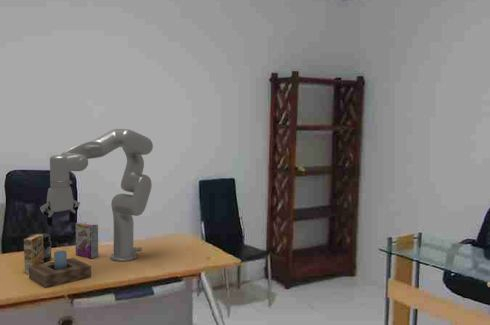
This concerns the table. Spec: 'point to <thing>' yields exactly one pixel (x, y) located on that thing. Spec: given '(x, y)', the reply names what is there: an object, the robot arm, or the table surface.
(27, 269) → the candy box
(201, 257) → the table surface
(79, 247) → the candy bar box
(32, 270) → the peg block
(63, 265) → the peg
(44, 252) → the supplement container
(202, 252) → the table surface
